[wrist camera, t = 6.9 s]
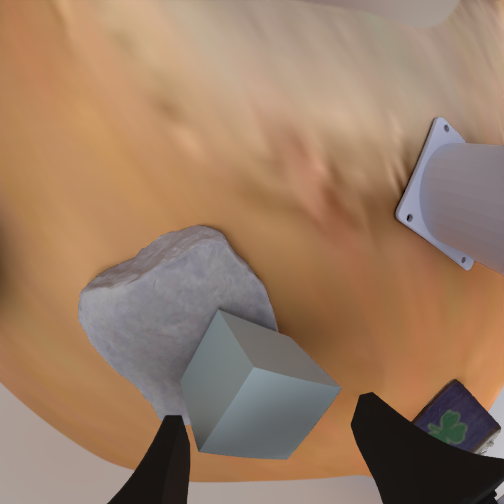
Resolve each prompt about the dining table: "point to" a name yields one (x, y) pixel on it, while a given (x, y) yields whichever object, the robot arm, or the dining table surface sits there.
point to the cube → (253, 391)
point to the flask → (458, 419)
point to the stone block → (169, 309)
